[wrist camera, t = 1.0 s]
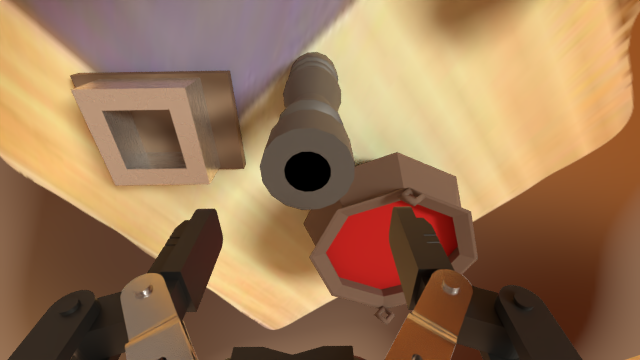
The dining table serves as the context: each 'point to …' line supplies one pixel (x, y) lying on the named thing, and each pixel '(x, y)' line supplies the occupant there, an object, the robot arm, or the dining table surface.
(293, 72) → the candle holder
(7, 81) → the dining table surface
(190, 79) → the square collar
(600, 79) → the dining table surface
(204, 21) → the dining table surface
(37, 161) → the dining table surface
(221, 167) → the socket board
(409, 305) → the robot arm
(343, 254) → the brown cauldron
